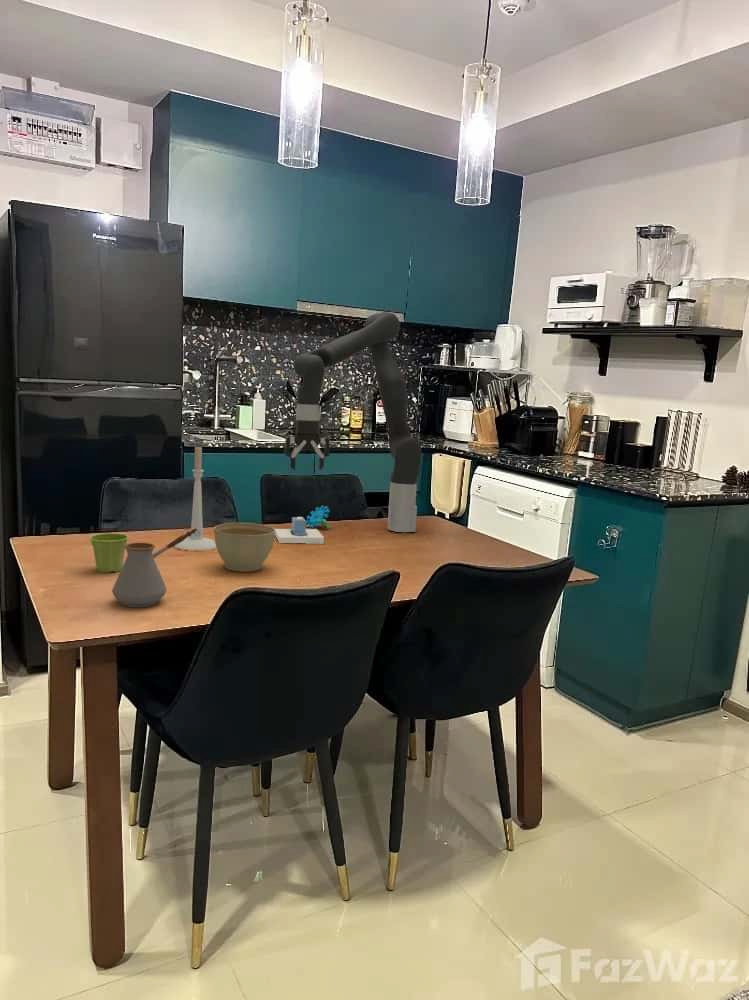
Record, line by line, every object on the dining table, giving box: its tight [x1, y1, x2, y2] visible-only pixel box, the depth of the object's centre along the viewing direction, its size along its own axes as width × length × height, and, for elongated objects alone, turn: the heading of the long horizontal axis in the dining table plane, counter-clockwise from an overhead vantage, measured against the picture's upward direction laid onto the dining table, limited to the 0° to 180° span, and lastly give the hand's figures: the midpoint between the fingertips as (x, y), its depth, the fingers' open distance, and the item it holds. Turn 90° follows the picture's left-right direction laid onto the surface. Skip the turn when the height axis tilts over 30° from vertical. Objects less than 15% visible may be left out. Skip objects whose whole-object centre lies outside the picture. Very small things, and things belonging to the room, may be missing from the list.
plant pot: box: [89, 532, 129, 573], centre depth 187 cm, size 9×9×9 cm
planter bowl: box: [213, 522, 276, 573], centre depth 196 cm, size 16×16×11 cm
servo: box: [290, 516, 307, 536], centre depth 236 cm, size 4×9×7 cm, turn 14°
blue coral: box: [305, 505, 331, 529], centre depth 257 cm, size 11×6×10 cm
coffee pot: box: [111, 528, 200, 608], centre depth 166 cm, size 21×12×15 cm, turn 140°
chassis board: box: [274, 528, 325, 545], centre depth 236 cm, size 14×13×2 cm
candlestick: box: [175, 445, 216, 550], centre depth 216 cm, size 13×13×30 cm
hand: (306, 469), depth 235 cm, fingers open, 8 cm apart
